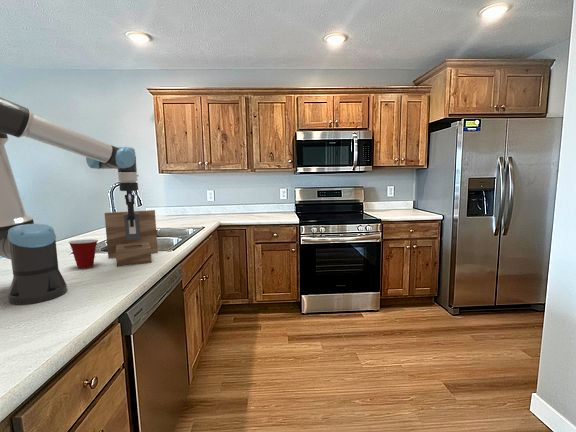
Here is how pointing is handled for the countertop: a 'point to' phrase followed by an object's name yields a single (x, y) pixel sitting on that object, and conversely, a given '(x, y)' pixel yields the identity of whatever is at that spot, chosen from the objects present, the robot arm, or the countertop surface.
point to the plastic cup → (84, 252)
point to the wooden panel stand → (131, 249)
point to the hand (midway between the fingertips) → (132, 232)
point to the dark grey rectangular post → (137, 235)
